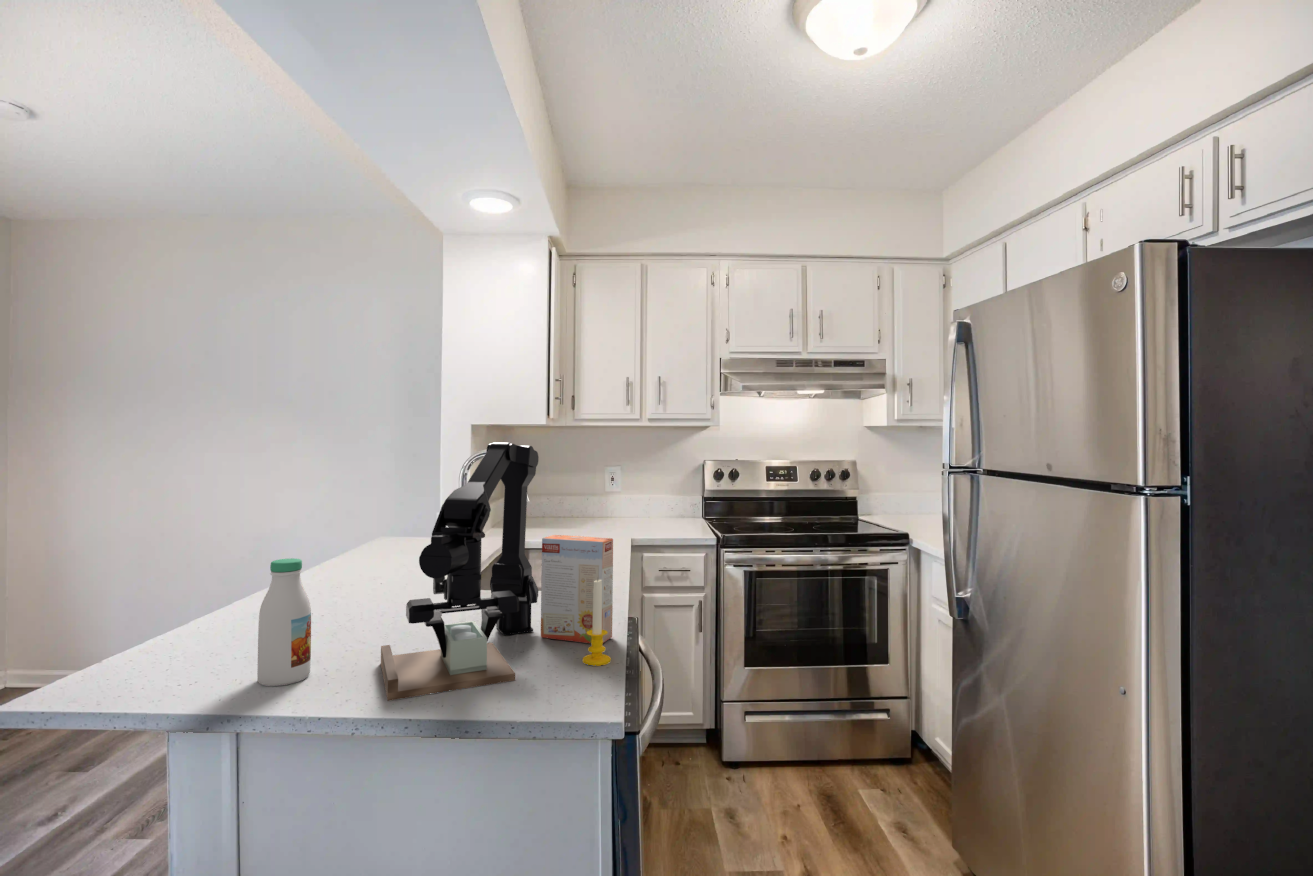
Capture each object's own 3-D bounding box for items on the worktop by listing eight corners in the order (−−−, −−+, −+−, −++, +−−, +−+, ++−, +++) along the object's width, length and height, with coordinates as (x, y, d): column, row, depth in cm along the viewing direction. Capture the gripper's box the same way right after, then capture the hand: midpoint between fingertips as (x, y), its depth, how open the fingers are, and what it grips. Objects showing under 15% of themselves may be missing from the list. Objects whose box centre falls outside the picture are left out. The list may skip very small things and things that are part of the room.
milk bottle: (272, 691, 100) (274, 566, 101) (248, 681, 104) (250, 561, 105) (319, 676, 107) (321, 559, 107) (295, 667, 111) (297, 554, 111)
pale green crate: (474, 650, 117) (474, 621, 117) (486, 669, 108) (487, 637, 108) (440, 654, 115) (441, 624, 115) (450, 675, 105) (450, 642, 105)
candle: (584, 667, 113) (586, 581, 113) (580, 657, 118) (581, 575, 118) (613, 665, 114) (614, 579, 115) (607, 655, 120) (609, 574, 120)
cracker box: (613, 637, 130) (614, 537, 131) (601, 646, 125) (602, 541, 125) (553, 630, 135) (555, 533, 135) (539, 638, 129) (541, 537, 130)
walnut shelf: (492, 648, 122) (492, 632, 122) (515, 680, 106) (515, 661, 106) (380, 663, 113) (381, 646, 113) (387, 700, 97) (387, 680, 97)
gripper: (505, 555, 123) (504, 635, 123) (403, 562, 114) (402, 648, 114) (520, 565, 113) (519, 652, 113) (410, 574, 104) (408, 668, 104)
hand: (462, 654), depth 111 cm, fingers closed on pale green crate, 6 cm apart
